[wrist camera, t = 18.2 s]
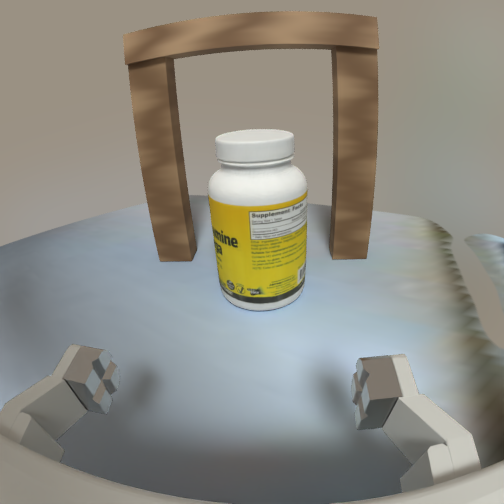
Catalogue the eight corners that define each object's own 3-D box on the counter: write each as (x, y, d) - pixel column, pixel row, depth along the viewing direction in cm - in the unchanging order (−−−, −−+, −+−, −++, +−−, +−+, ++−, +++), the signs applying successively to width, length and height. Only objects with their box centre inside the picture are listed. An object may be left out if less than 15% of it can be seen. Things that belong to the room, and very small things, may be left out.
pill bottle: (213, 273, 25) (196, 134, 20) (286, 258, 27) (283, 125, 21) (231, 324, 20) (210, 148, 14) (318, 302, 21) (325, 137, 16)
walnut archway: (158, 264, 27) (123, 34, 17) (168, 247, 29) (139, 38, 20) (367, 261, 25) (376, 17, 16) (360, 244, 28) (365, 24, 18)
